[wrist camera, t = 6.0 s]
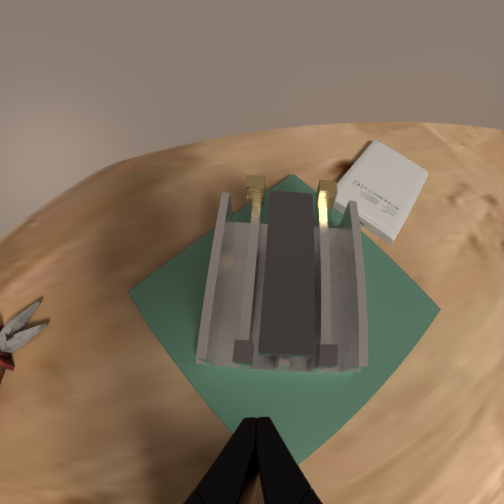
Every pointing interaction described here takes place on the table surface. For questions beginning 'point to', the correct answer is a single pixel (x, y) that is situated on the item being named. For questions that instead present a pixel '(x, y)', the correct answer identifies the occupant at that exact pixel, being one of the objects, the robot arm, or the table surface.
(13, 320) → the pliers
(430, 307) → the green square mat
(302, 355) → the dark metal plate
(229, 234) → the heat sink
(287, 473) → the robot arm
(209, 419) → the table surface
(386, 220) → the external hard drive
